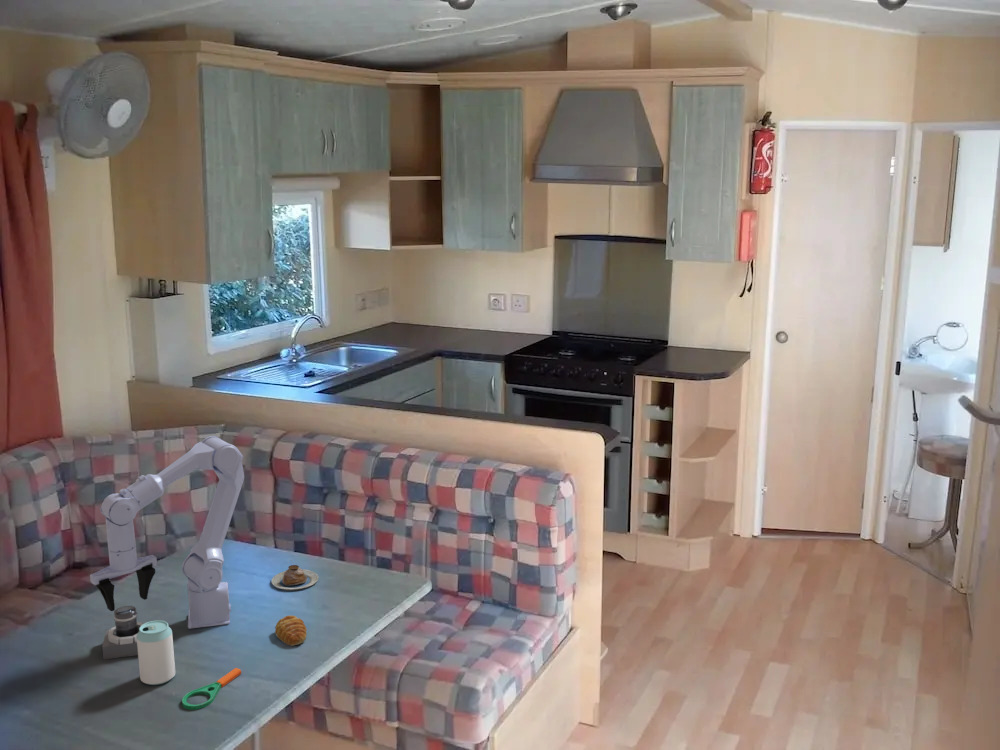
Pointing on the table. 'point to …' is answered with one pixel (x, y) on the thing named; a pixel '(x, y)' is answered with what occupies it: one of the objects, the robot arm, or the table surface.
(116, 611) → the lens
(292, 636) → the pastry
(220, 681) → the magnifying glass
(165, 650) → the can
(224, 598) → the robot arm
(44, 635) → the table surface
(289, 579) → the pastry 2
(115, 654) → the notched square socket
